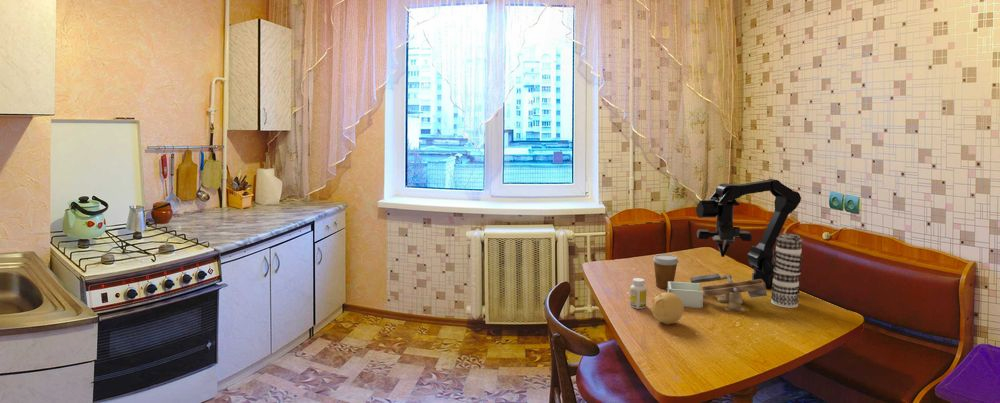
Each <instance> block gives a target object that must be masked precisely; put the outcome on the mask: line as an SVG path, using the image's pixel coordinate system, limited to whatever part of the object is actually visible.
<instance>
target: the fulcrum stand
mask: <svg viewBox="0 0 1000 403" xmlns="http://www.w3.org/2000/svg"><path fill="white" fill-rule="evenodd" d="M726 283H727V282H724V284H726ZM742 297H743V294H742V292H739V293H732V292H730V294H723V295H716V299H717V301H718V302H719V303H728V306H724V310H725V311H733V312H745V307H742V305H743V304H744V300H743V299H742Z"/></svg>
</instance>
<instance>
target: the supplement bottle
mask: <svg viewBox="0 0 1000 403" xmlns="http://www.w3.org/2000/svg"><path fill="white" fill-rule="evenodd" d="M645 281H646V280H645V279H644V278H641V277H634V278H633V279H632V285H630V295H629V296H630V298H629V299H630V300H629V302H630V304H629V305H630V307H631V308H633V309H638V310H639V309H641V310H643V309H646V307H647V286H646V285H645Z"/></svg>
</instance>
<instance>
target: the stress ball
mask: <svg viewBox="0 0 1000 403" xmlns="http://www.w3.org/2000/svg"><path fill="white" fill-rule="evenodd" d="M684 308H685V307H683V303H682V301H681V300H680V298H679V297H678V296H676V295H675V294H673V293H668V292H665V291H664V292H660V293H657V294H656V295H655V297H654V298H653V299H652V300H651V307H650V310H651V313H652V315H653V316H654V318H655V319H657V321H658V322H661V323H662V324H663V325H671V324H675V323H676V322H678V321H679V320H680V319H681V318H682V316H683V314H684V310H685V309H684Z"/></svg>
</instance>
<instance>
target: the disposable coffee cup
mask: <svg viewBox="0 0 1000 403" xmlns="http://www.w3.org/2000/svg"><path fill="white" fill-rule="evenodd" d="M652 262H653V265H654V277H655V286H656V287H657V288H659V289H663V290H667V289H668V281H671V282H675V276H676V270H677V267H678V266H677V265H678V263H679V259H678V257H677V255H673V254H668V253H667V254H666V253H665V254H664V253H660V254H659V253H658V254H655V255H654V256H653V259H652Z"/></svg>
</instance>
